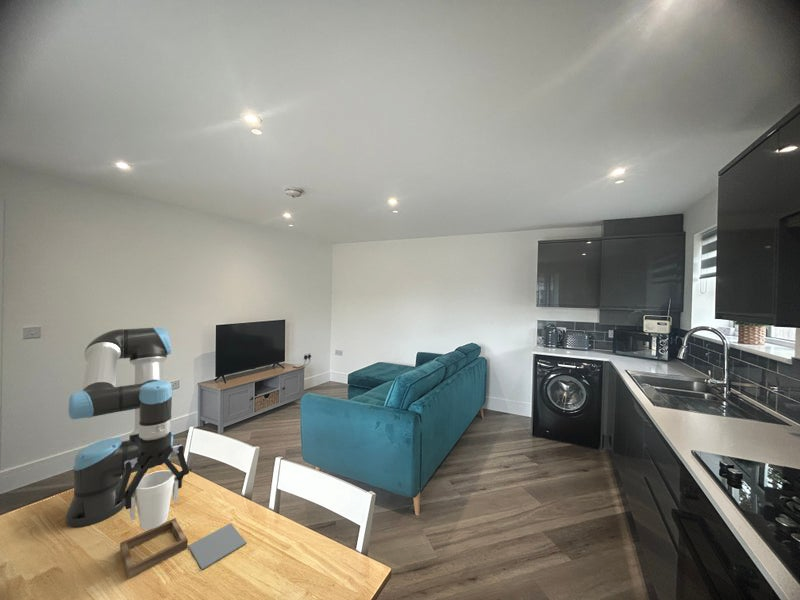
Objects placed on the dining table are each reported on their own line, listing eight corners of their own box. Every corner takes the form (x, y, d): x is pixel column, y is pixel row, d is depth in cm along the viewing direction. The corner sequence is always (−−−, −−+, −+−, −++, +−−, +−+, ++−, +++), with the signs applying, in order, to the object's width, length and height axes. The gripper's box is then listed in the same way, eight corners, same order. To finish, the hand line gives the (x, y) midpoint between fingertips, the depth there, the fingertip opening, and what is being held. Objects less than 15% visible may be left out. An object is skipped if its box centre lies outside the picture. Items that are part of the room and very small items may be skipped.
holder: (120, 551, 89) (120, 542, 89) (175, 525, 99) (175, 517, 99) (128, 579, 81) (128, 569, 81) (187, 547, 91) (187, 539, 91)
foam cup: (150, 537, 85) (151, 491, 84) (124, 530, 86) (125, 486, 86) (181, 513, 94) (182, 472, 94) (157, 507, 96) (158, 467, 95)
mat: (188, 546, 91) (188, 545, 91) (230, 524, 100) (230, 523, 100) (201, 570, 84) (202, 569, 84) (246, 543, 93) (246, 542, 93)
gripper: (105, 453, 79) (104, 537, 79) (202, 426, 96) (201, 495, 96) (102, 443, 83) (101, 522, 84) (194, 419, 100) (193, 485, 101)
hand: (154, 508), depth 90 cm, fingers closed on foam cup, 9 cm apart
